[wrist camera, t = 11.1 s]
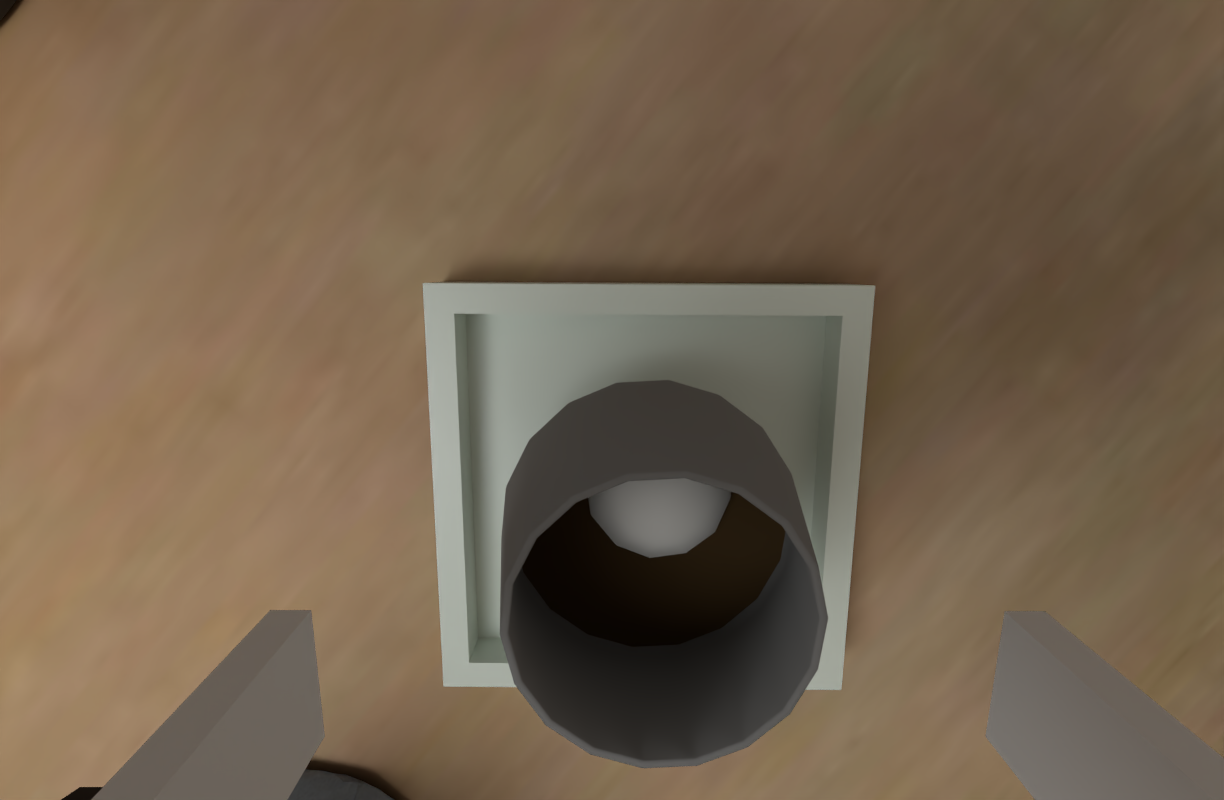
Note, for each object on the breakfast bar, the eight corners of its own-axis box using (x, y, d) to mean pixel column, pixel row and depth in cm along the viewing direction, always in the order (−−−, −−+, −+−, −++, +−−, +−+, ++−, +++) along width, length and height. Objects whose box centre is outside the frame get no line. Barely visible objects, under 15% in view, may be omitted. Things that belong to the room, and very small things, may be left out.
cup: (534, 347, 24) (476, 402, 14) (787, 377, 24) (906, 452, 14) (511, 586, 26) (446, 782, 16) (746, 612, 26) (826, 823, 16)
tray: (442, 281, 24) (422, 283, 22) (848, 283, 24) (875, 285, 22) (459, 648, 27) (443, 686, 25) (820, 651, 27) (841, 689, 25)
